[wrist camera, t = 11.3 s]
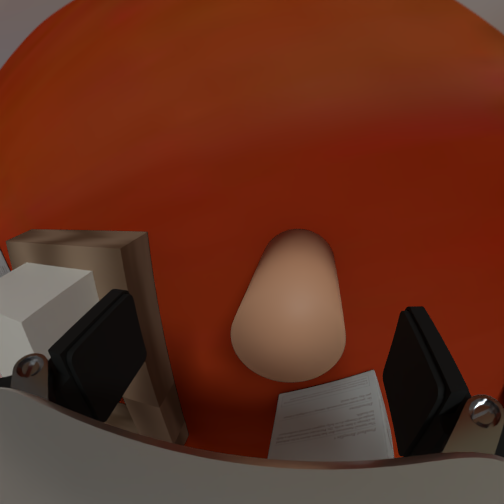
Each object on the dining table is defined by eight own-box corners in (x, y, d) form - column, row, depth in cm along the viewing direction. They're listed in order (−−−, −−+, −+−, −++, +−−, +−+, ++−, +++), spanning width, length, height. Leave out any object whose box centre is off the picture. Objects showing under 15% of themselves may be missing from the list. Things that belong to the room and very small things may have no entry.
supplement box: (307, 442, 22) (289, 570, 10) (277, 391, 20) (240, 553, 9) (390, 423, 20) (402, 559, 8) (377, 366, 18) (399, 543, 6)
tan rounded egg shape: (337, 230, 15) (353, 294, 9) (331, 298, 17) (336, 385, 10) (262, 227, 16) (227, 286, 10) (262, 293, 18) (233, 376, 11)
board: (147, 232, 18) (120, 248, 15) (188, 434, 24) (178, 457, 22) (31, 229, 20) (5, 241, 17) (91, 403, 27) (78, 421, 24)
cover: (92, 270, 16) (21, 322, 10) (118, 363, 18) (71, 422, 13) (26, 262, 17) (-33, 298, 11) (52, 342, 19) (7, 385, 14)
